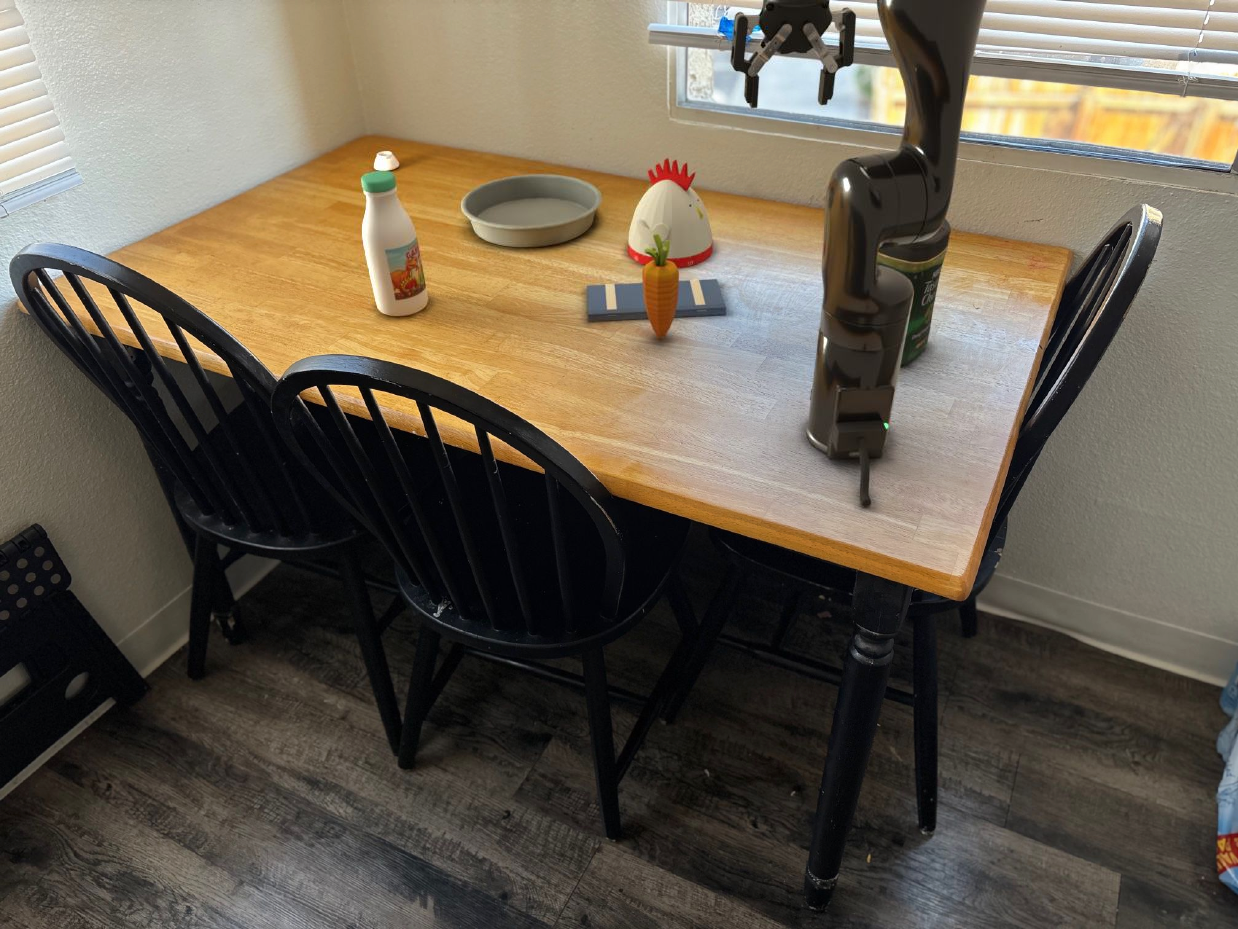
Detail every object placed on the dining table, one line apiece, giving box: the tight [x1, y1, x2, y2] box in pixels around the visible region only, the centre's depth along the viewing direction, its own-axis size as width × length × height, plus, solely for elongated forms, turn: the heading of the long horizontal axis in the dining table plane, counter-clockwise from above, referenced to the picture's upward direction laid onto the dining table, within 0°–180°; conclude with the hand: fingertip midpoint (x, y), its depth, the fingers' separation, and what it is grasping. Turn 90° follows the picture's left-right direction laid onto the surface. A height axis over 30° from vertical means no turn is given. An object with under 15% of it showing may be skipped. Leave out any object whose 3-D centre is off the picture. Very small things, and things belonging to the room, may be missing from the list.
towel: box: [586, 278, 727, 322], centre depth 134 cm, size 10×20×1 cm, turn 93°
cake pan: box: [460, 173, 603, 248], centre depth 158 cm, size 25×25×4 cm
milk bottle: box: [360, 170, 429, 317], centre depth 130 cm, size 8×8×20 cm
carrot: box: [641, 234, 680, 340], centre depth 122 cm, size 5×5×15 cm
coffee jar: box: [877, 218, 952, 365], centre depth 116 cm, size 10×8×19 cm
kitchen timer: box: [628, 157, 714, 269], centre depth 145 cm, size 14×14×15 cm
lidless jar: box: [373, 150, 400, 172], centre depth 184 cm, size 5×3×5 cm
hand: (787, 104), depth 110 cm, fingers open, 8 cm apart
